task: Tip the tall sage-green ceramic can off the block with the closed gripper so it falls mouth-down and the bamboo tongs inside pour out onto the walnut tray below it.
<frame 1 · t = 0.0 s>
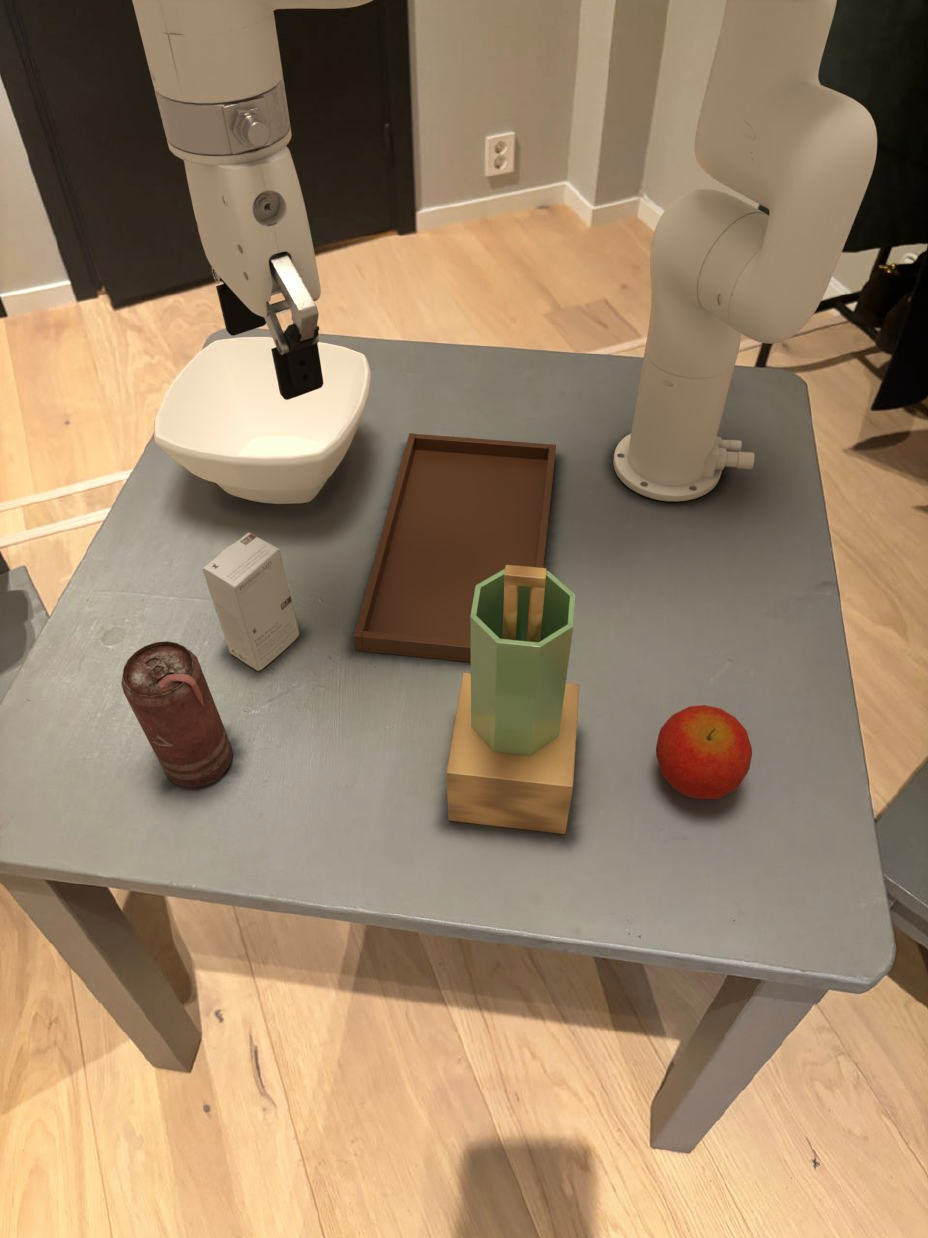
hand: (274, 359, 67), 31 cm above the table, tool pointing down, fingers open, 9 cm apart
block: (512, 776, 80), on the table
apple: (694, 778, 80), on the table
tray: (464, 546, 98), on the table
green cup: (516, 716, 74), point 8 cm above the table, touching block, tongs
tongs: (520, 649, 67), point 17 cm above the table, touching green cup
bowl: (282, 476, 106), on the table
cosmetic box: (265, 644, 90), on the table
can: (201, 762, 81), on the table
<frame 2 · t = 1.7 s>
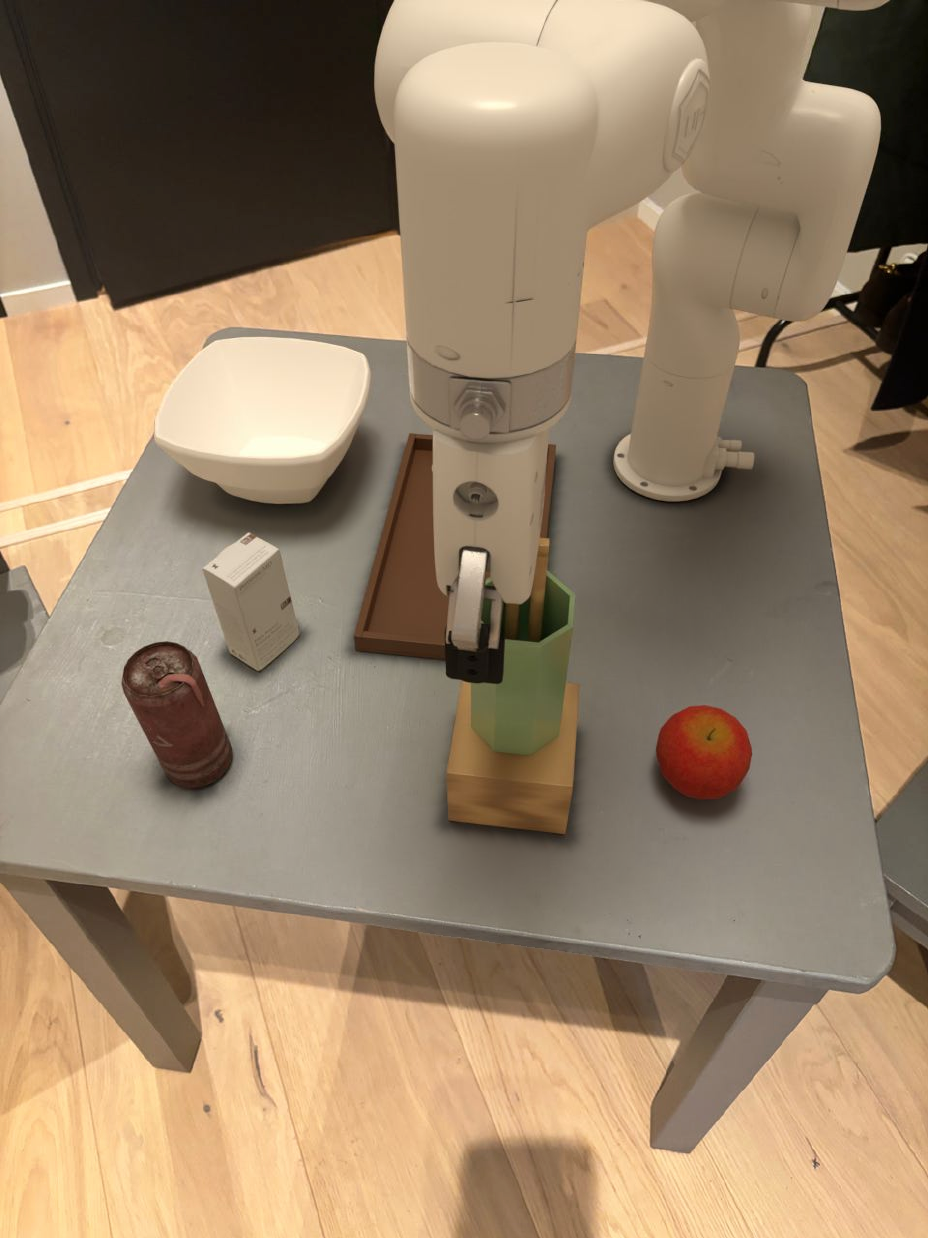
hand: (486, 613, 54), 29 cm above the table, tool pointing down, fingers open, 9 cm apart
tongs: (522, 633, 68), point 17 cm above the table, tilted 11°, touching green cup
everything else where it was.
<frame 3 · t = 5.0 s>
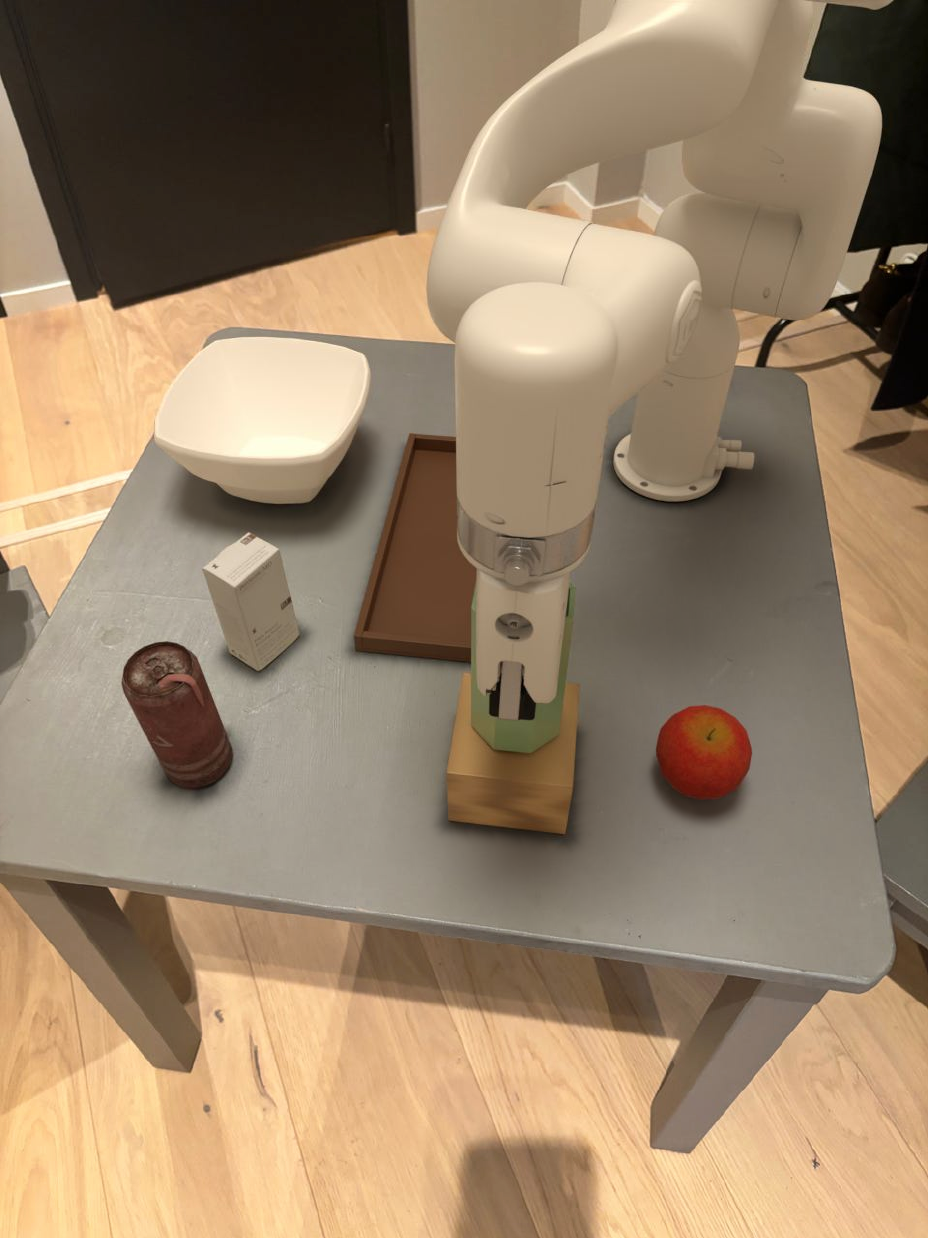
hand: (512, 709, 63), 18 cm above the table, tool pointing down, fingers closed
green cup: (516, 715, 74), point 8 cm above the table, touching gripper, block, tongs
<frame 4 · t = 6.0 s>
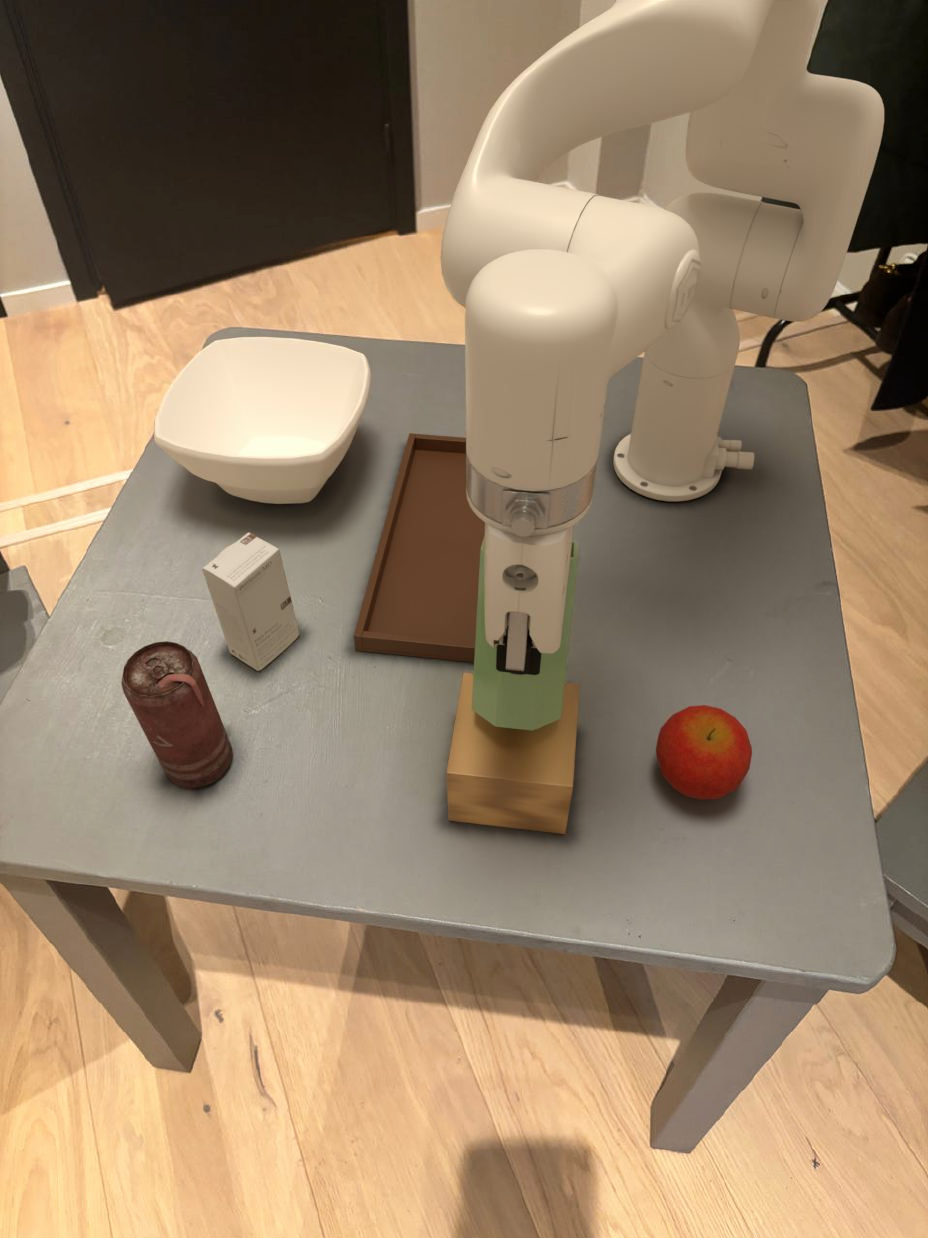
hand: (518, 664, 66), 17 cm above the table, tool pointing down, fingers closed
green cup: (517, 704, 73), point 9 cm above the table, tilted 23°, touching block, tongs
tongs: (526, 598, 71), point 17 cm above the table, tilted 34°, touching green cup
everything else where it was.
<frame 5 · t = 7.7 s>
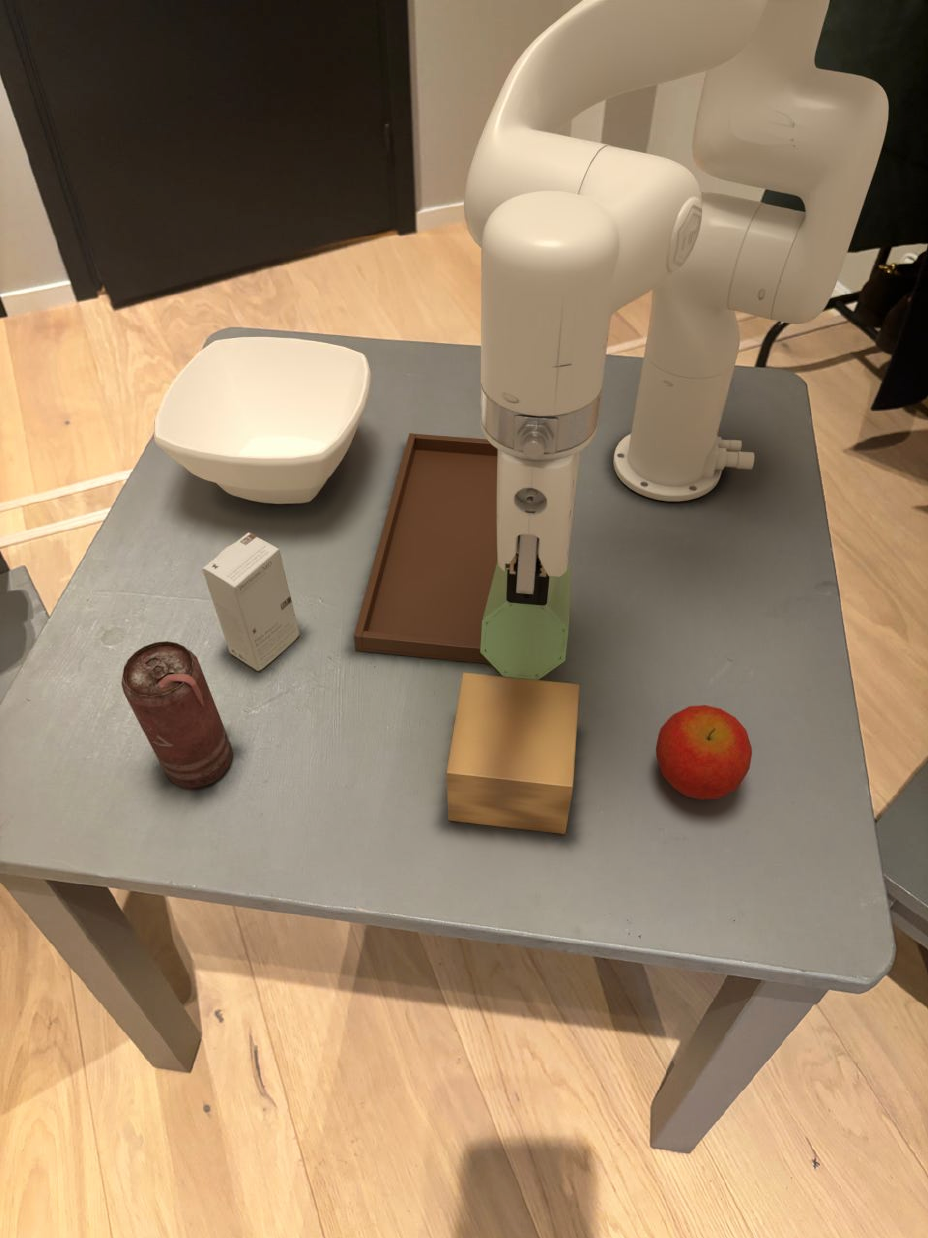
hand: (527, 596, 71), 17 cm above the table, tool pointing down, fingers closed
green cup: (523, 641, 75), point 11 cm above the table, tilted 114°, touching block, tongs, tray
tongs: (529, 609, 85), point 5 cm above the table, tilted 108°, touching green cup, tray
everything else where it was.
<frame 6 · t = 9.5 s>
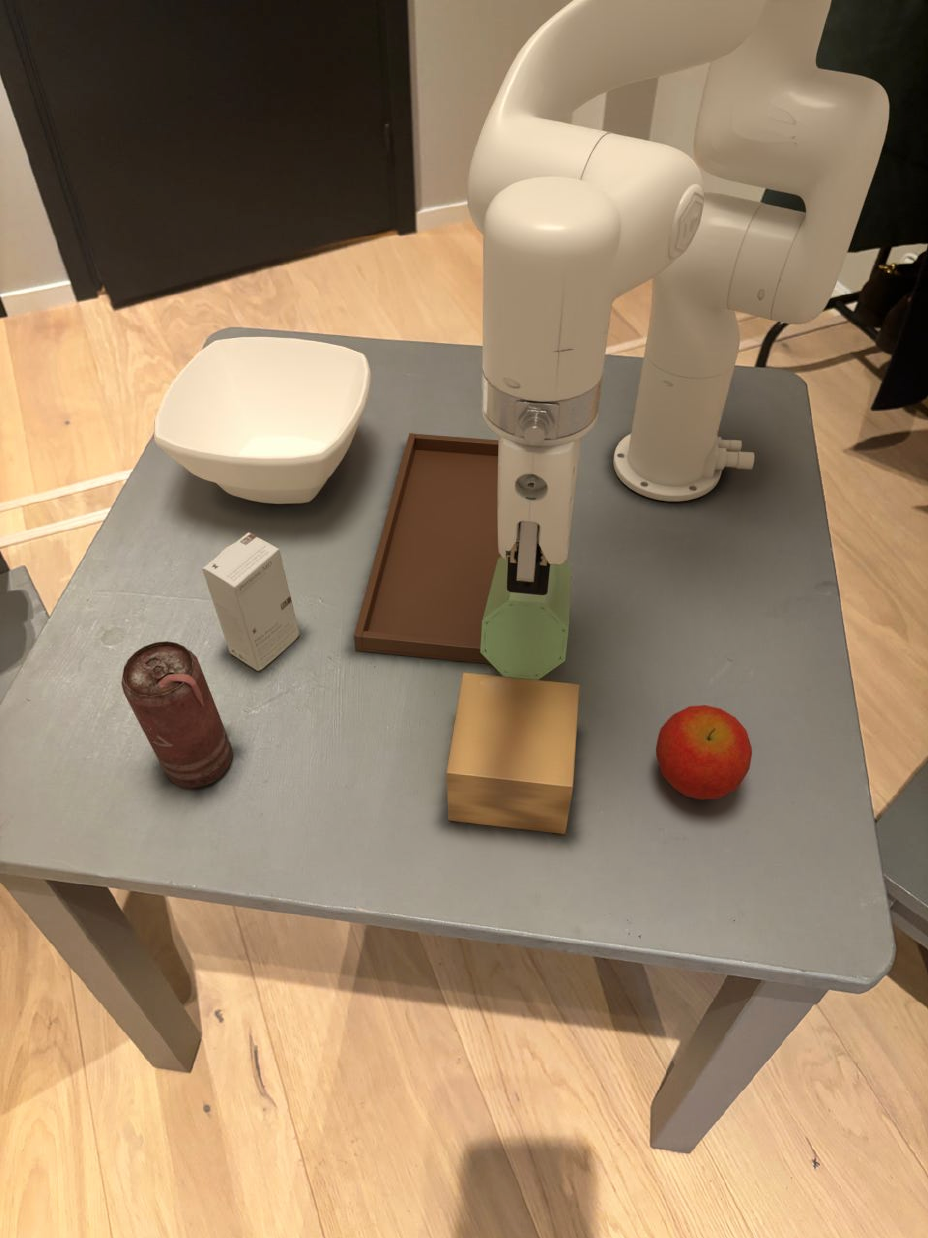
hand: (527, 586, 71), 17 cm above the table, tool pointing down, fingers closed
nothing on the table moved.
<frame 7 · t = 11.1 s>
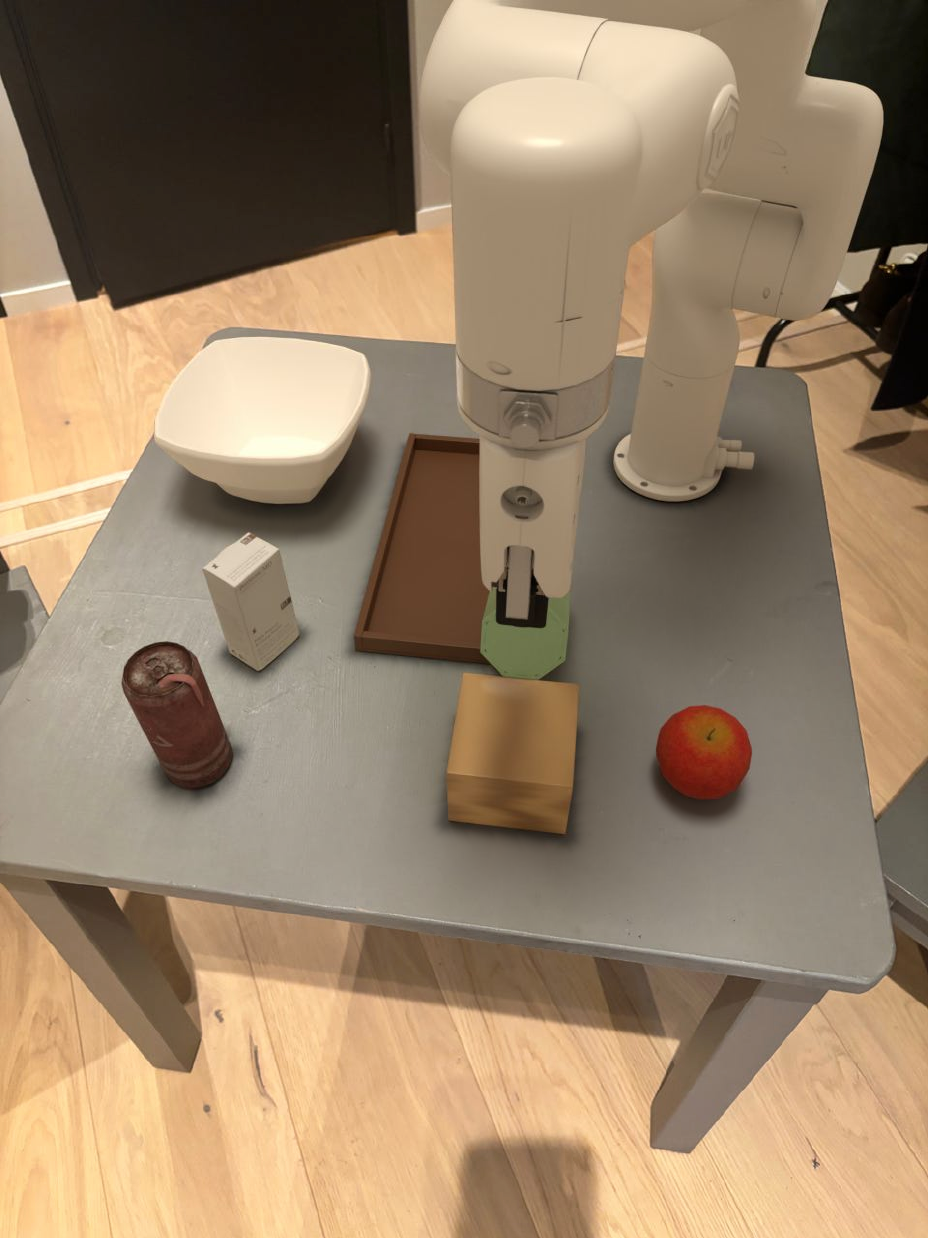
hand: (521, 616, 57), 26 cm above the table, tool pointing down, fingers closed
nothing on the table moved.
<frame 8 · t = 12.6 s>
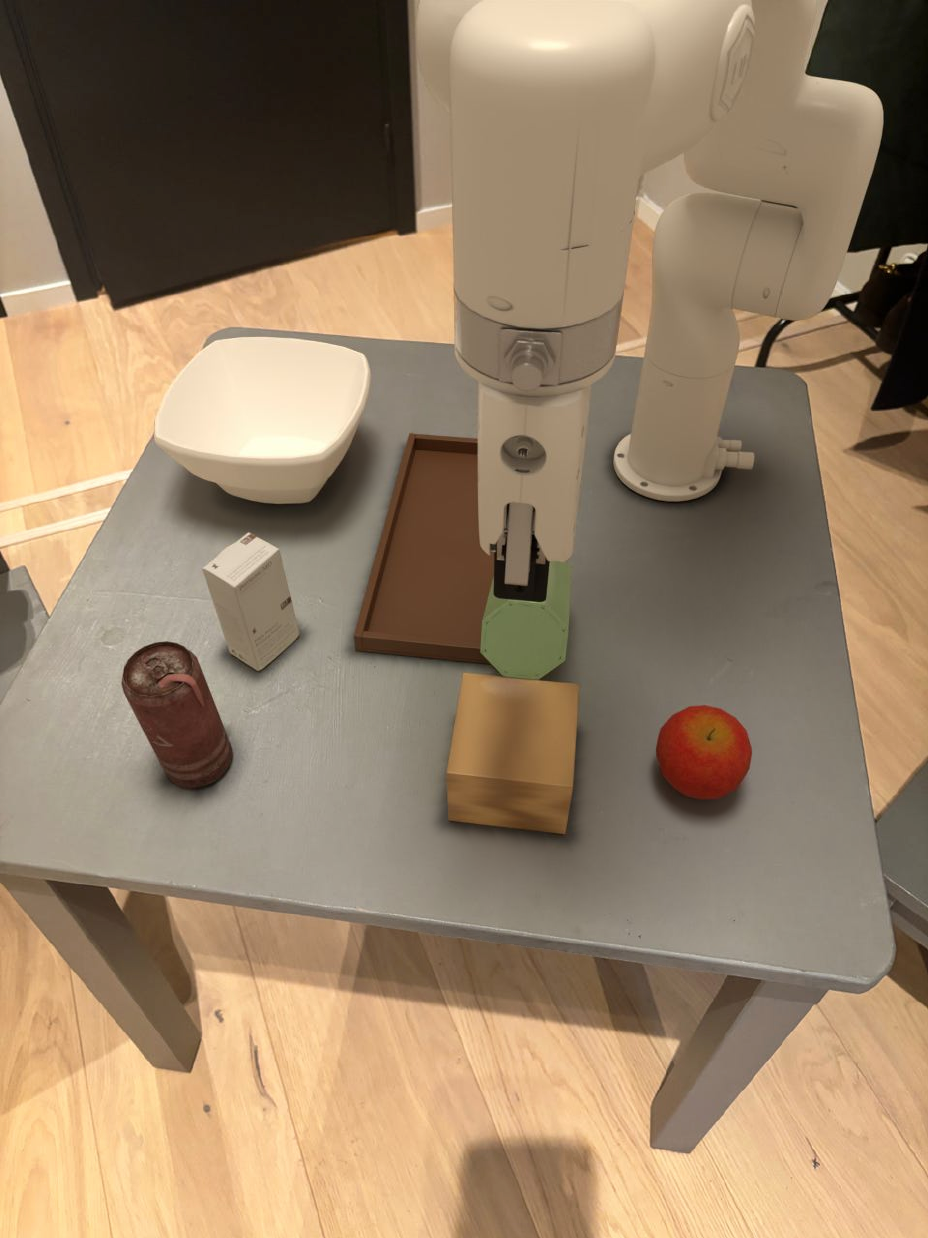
hand: (520, 590, 55), 29 cm above the table, tool pointing down, fingers closed
nothing on the table moved.
at the end: green cup tilted 114°; tongs touching green cup, tray; tongs tilted 108° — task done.
